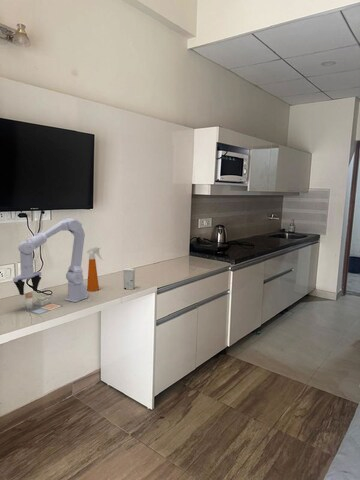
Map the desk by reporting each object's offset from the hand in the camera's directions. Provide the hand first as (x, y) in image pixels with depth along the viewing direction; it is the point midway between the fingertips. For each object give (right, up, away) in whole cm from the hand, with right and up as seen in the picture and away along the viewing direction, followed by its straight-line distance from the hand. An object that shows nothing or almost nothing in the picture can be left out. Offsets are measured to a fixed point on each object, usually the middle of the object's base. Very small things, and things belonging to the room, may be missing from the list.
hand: (28, 292), depth 171 cm
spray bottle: (+25, -4, +34) cm, 42 cm away
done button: (+3, -6, +8) cm, 11 cm away
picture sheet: (+5, -8, +3) cm, 10 cm away
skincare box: (+45, -3, +38) cm, 59 cm away
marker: (0, -8, +1) cm, 8 cm away
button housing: (+3, -7, +8) cm, 11 cm away
